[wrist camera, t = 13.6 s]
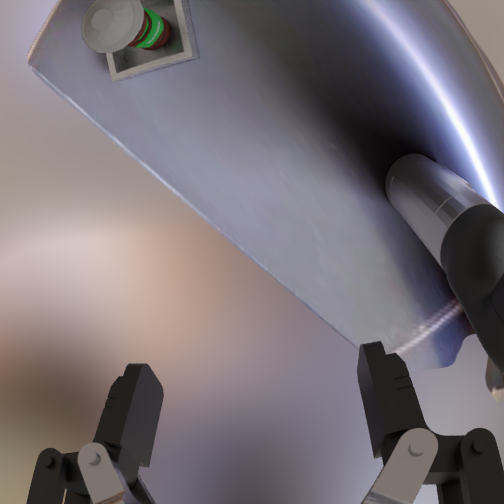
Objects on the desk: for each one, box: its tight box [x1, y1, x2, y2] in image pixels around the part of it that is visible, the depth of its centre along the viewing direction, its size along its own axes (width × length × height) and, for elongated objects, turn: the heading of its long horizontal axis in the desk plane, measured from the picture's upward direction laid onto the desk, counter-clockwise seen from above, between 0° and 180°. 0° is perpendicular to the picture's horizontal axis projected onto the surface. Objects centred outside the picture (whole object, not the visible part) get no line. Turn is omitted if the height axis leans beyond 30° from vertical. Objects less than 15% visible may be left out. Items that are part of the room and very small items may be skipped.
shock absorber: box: [81, 0, 171, 53], centre depth 25 cm, size 6×6×15 cm
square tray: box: [106, 0, 200, 81], centre depth 29 cm, size 10×10×4 cm
